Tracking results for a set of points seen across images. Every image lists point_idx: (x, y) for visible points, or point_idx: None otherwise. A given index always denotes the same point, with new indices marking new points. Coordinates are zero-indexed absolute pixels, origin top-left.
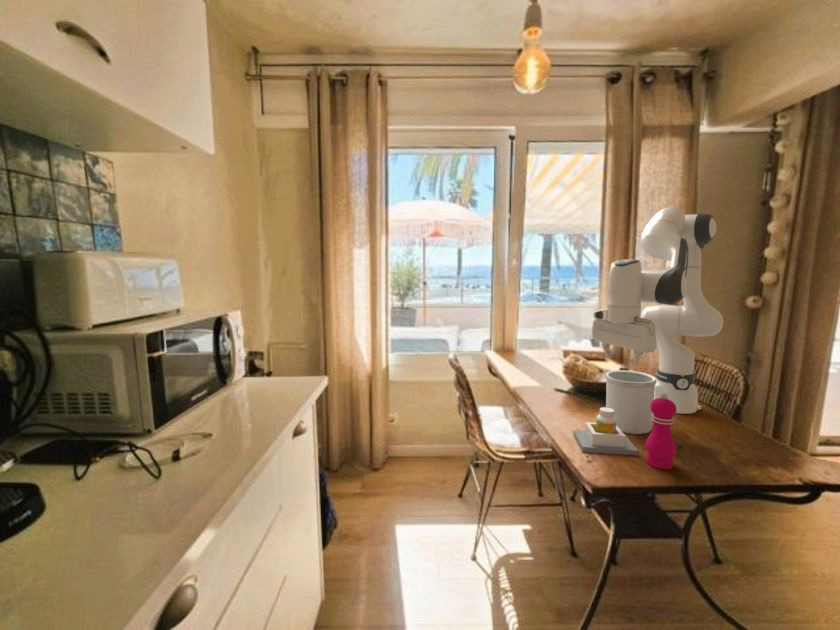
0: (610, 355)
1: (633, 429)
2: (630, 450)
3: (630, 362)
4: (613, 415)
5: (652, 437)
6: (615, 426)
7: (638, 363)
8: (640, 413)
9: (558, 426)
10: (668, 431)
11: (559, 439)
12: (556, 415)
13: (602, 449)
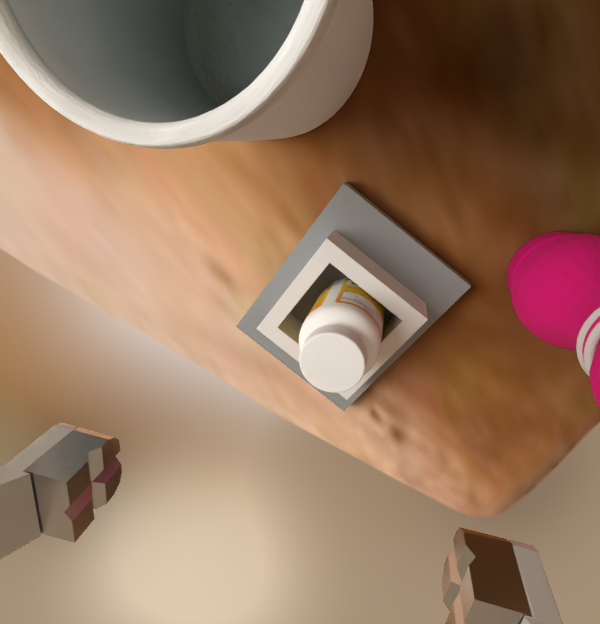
0: (97, 479)
1: (342, 103)
2: (451, 305)
3: (446, 603)
4: (366, 351)
5: (569, 346)
6: (380, 328)
7: (537, 570)
8: (350, 65)
9: (169, 306)
10: None
11: (249, 384)
12: (86, 228)
13: (385, 368)
